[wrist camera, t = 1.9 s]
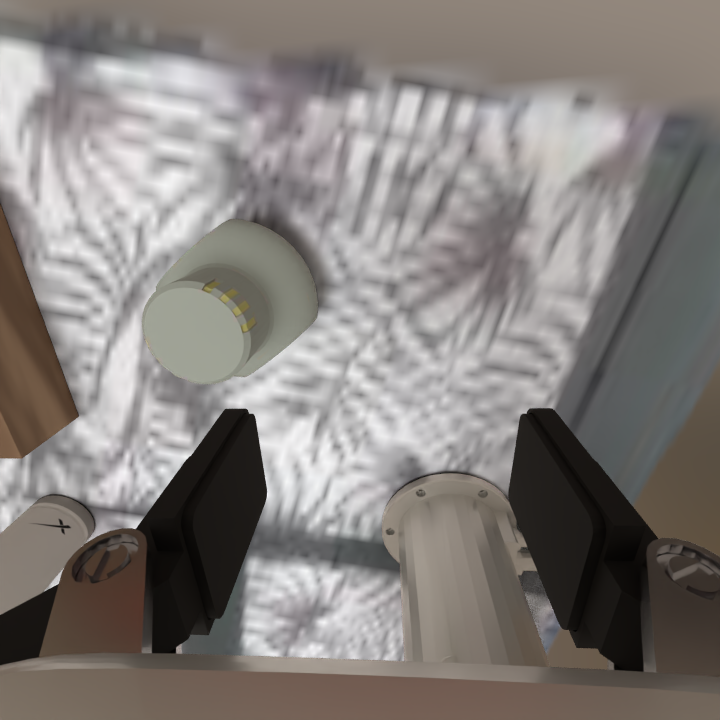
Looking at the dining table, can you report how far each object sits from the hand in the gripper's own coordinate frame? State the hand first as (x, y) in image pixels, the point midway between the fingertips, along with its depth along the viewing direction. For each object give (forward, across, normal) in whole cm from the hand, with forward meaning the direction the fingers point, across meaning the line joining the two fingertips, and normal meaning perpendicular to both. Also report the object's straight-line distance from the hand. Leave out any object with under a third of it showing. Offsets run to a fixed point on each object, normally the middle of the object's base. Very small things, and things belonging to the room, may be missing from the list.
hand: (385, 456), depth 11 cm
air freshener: (+20, +10, 0) cm, 22 cm away
